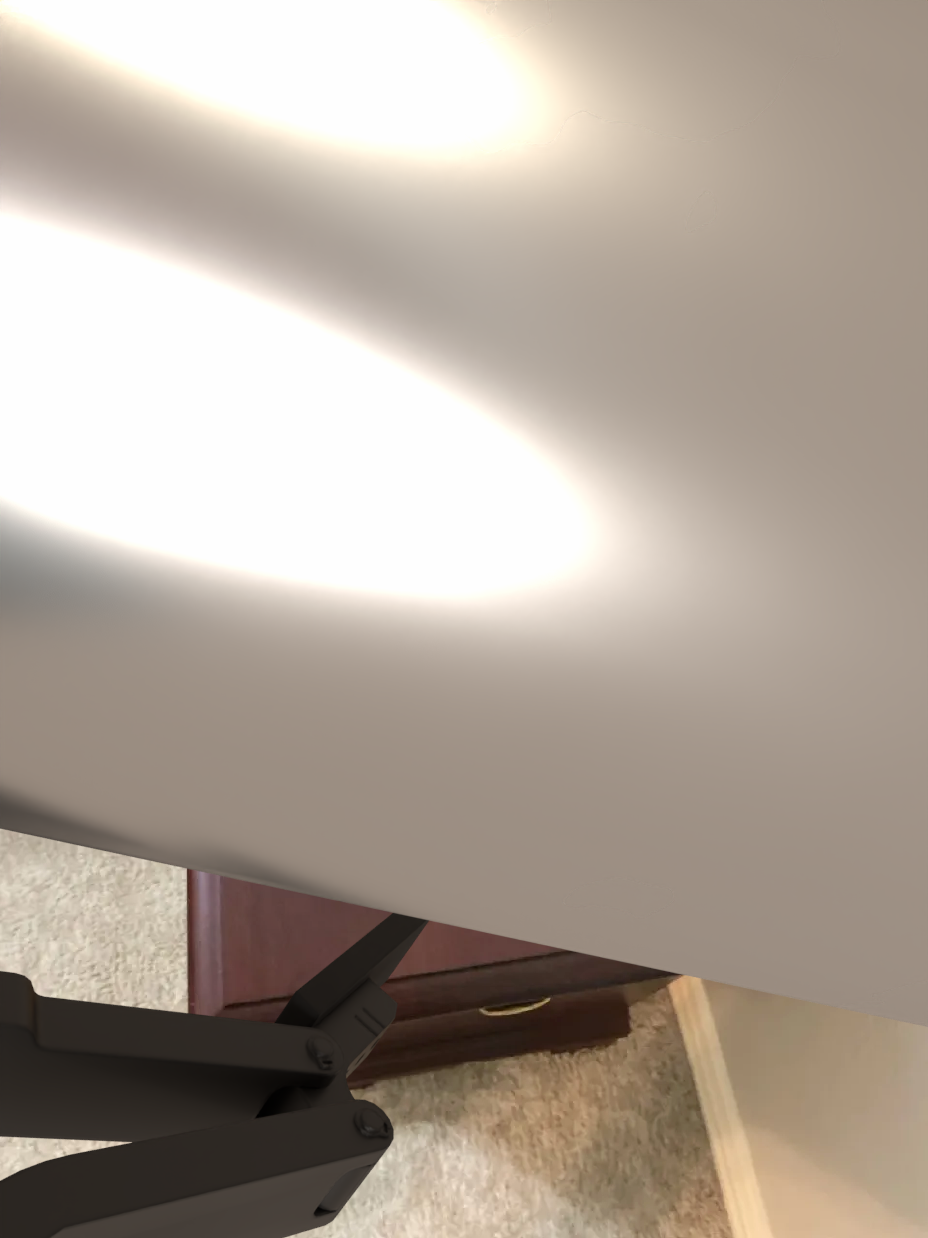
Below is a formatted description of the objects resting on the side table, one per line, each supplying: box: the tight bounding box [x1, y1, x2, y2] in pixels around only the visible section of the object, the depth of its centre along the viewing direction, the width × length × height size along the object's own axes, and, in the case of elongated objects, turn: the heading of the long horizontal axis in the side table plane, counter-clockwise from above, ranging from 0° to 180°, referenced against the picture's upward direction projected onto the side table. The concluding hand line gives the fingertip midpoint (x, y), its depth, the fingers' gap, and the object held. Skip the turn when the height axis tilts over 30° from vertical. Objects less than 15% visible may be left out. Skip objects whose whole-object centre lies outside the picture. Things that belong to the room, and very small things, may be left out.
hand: (230, 788), depth 32 cm, fingers open, 13 cm apart
